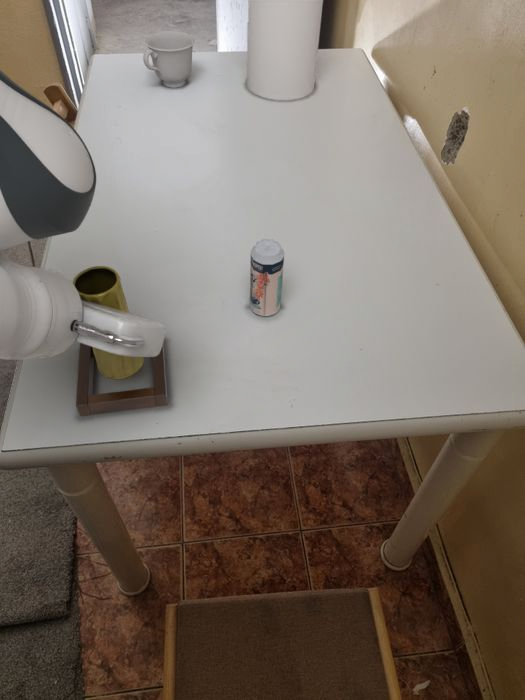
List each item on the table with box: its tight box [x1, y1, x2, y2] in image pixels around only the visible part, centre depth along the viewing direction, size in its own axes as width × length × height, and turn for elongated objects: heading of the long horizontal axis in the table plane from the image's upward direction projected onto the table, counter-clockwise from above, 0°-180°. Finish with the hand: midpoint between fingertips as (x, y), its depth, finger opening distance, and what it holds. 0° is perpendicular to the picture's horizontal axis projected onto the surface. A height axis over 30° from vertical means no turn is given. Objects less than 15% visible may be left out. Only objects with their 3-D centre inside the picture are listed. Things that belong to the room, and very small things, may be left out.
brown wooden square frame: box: [75, 342, 169, 417], centre depth 72 cm, size 12×12×2 cm
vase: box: [72, 265, 145, 380], centre depth 63 cm, size 6×6×14 cm
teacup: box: [142, 30, 196, 89], centre depth 127 cm, size 12×15×10 cm
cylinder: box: [246, 0, 324, 101], centre depth 122 cm, size 17×17×28 cm
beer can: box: [249, 238, 285, 317], centre depth 77 cm, size 5×5×12 cm
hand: (111, 317), depth 63 cm, fingers closed on vase, 5 cm apart
